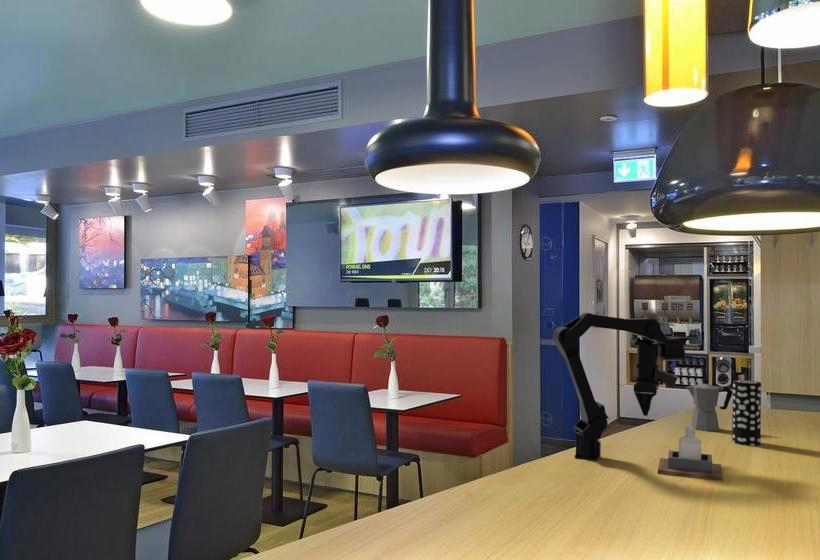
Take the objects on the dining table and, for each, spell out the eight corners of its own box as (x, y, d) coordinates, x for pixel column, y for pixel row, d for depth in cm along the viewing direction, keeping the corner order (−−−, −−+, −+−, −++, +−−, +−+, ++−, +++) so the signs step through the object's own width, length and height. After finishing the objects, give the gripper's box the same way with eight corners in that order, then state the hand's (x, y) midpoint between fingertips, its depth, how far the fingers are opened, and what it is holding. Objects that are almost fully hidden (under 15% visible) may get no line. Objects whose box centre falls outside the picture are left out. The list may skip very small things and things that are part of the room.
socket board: (657, 473, 182) (657, 469, 182) (660, 461, 195) (660, 458, 195) (722, 480, 176) (723, 476, 176) (720, 467, 189) (720, 464, 189)
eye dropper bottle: (696, 470, 182) (696, 425, 182) (676, 466, 186) (676, 422, 186) (703, 467, 185) (703, 423, 185) (683, 463, 189) (683, 420, 189)
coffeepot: (685, 429, 241) (686, 379, 241) (684, 424, 250) (685, 376, 250) (733, 433, 236) (734, 381, 236) (730, 428, 245) (731, 378, 245)
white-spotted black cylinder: (765, 446, 217) (766, 383, 217) (739, 445, 217) (740, 383, 217) (752, 440, 225) (753, 380, 225) (727, 439, 225) (728, 379, 226)
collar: (667, 468, 183) (668, 457, 183) (669, 460, 191) (669, 450, 191) (712, 473, 179) (712, 462, 179) (711, 465, 187) (711, 454, 187)
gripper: (675, 365, 189) (675, 421, 188) (676, 359, 206) (676, 410, 206) (633, 362, 193) (633, 417, 193) (638, 357, 210) (638, 407, 210)
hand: (646, 413), depth 200 cm, fingers open, 9 cm apart
